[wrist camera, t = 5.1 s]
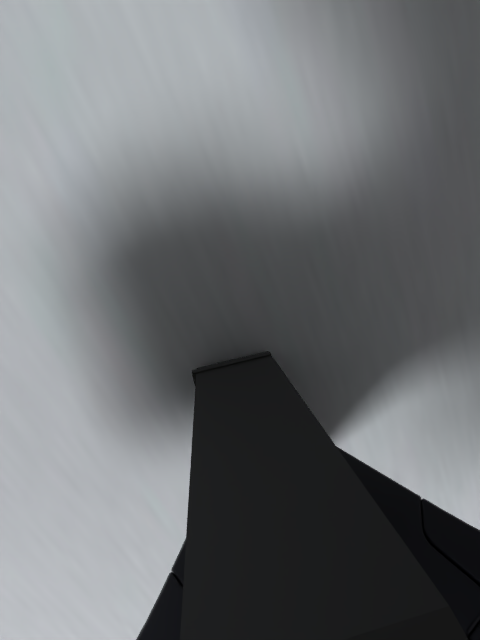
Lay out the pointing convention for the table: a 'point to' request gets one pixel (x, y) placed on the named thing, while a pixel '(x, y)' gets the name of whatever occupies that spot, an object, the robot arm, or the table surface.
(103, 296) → the table surface
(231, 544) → the ink cartridge
